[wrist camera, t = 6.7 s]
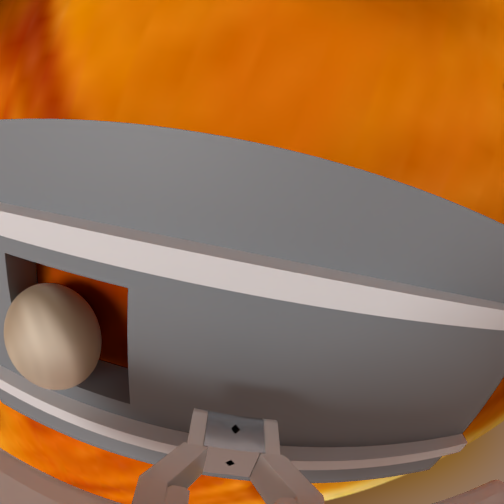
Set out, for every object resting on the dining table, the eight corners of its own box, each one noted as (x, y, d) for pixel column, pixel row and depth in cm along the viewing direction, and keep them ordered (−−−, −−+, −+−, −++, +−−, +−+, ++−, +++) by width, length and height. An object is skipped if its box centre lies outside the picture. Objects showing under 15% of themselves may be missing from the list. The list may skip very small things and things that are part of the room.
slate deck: (534, 241, 13) (571, 260, 9) (419, 447, 18) (433, 478, 15) (-9, 121, 10) (-54, 123, 7) (17, 382, 16) (-5, 410, 13)
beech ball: (122, 305, 11) (9, 336, 7) (123, 389, 13) (37, 425, 9) (74, 258, 14) (-13, 274, 10) (77, 336, 15) (5, 358, 11)
